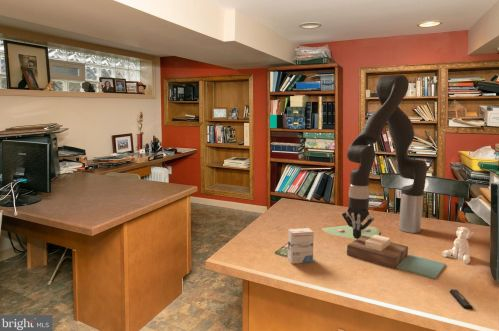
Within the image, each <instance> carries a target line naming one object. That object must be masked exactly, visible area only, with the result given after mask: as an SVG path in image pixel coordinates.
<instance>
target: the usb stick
mask: <svg viewBox="0 0 499 331" xmlns="http://www.w3.org/2000/svg"><path fill="white" fill-rule="evenodd" d="M449 293H450V294H451V295H452V297H453V298H454V299H455V300H456V301H457V303H458V304H459V305H460V306H461V307H462V308H463V309H464V310H473V309H474V307H473V305H472V304H471V303H470V302H469V301H468V300H467V299H466V298H465V297H464V295H462V294H461V292H460V291H459V290H458V289H450V290H449Z"/></svg>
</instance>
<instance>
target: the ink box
mask: <svg viewBox="0 0 499 331" xmlns="http://www.w3.org/2000/svg"><path fill="white" fill-rule="evenodd" d="M314 232H315V231H313V230H312V228H310V227H303V228H289V229H287V243H288V257H287V259H288V260H289V263H290V264H291V265H292V264H301V263H302V264H304V263H313V262H314V234H315V233H314Z"/></svg>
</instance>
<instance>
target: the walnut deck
mask: <svg viewBox="0 0 499 331" xmlns="http://www.w3.org/2000/svg"><path fill="white" fill-rule="evenodd" d="M369 238H371V237H367V236H363V235H362V236H361V237H360V238H359V239H354V240H353V241H352V242H350V243H349V244H347V248H346V256H349V257H352V258H356V259H360V260H362V261H366V262H371V263H374V264H376V265H381V266H384V267H387V268H390V269H397V268H396V266H397V265H398V264H399V263H400V262H401V261H402V260H403V259H405V258H406V257H407V256H408V255H409V254H408V253H409V246H408V245H404V244H401V243H400V244H399V243H396V242H391V241H390V245H388V246H387V247H386V248H385V249H383V250H382V251H378V250H374V249H370V248H366V247H365V241H366V240H368V239H369Z"/></svg>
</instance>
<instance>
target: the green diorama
mask: <svg viewBox="0 0 499 331" xmlns="http://www.w3.org/2000/svg"><path fill="white" fill-rule="evenodd" d="M363 225H364V224H362V226H363ZM321 230H322V231H323V232H325V233H327V234H329V235H330V236H331V235H332V236H337V237H343V238H348V239H353V240H356V238H354V236H353V228H352V227H349V226H348V224H346V225H337V226H329V227H328V226H327V227H323V228H321ZM362 235H363V236H367V237H372V236H374V235H379V236H380V230H379V229H378V228H377V227H375V226H370V225H369V226H368V227H367V228H365V229H363V230H361V236H362Z"/></svg>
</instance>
